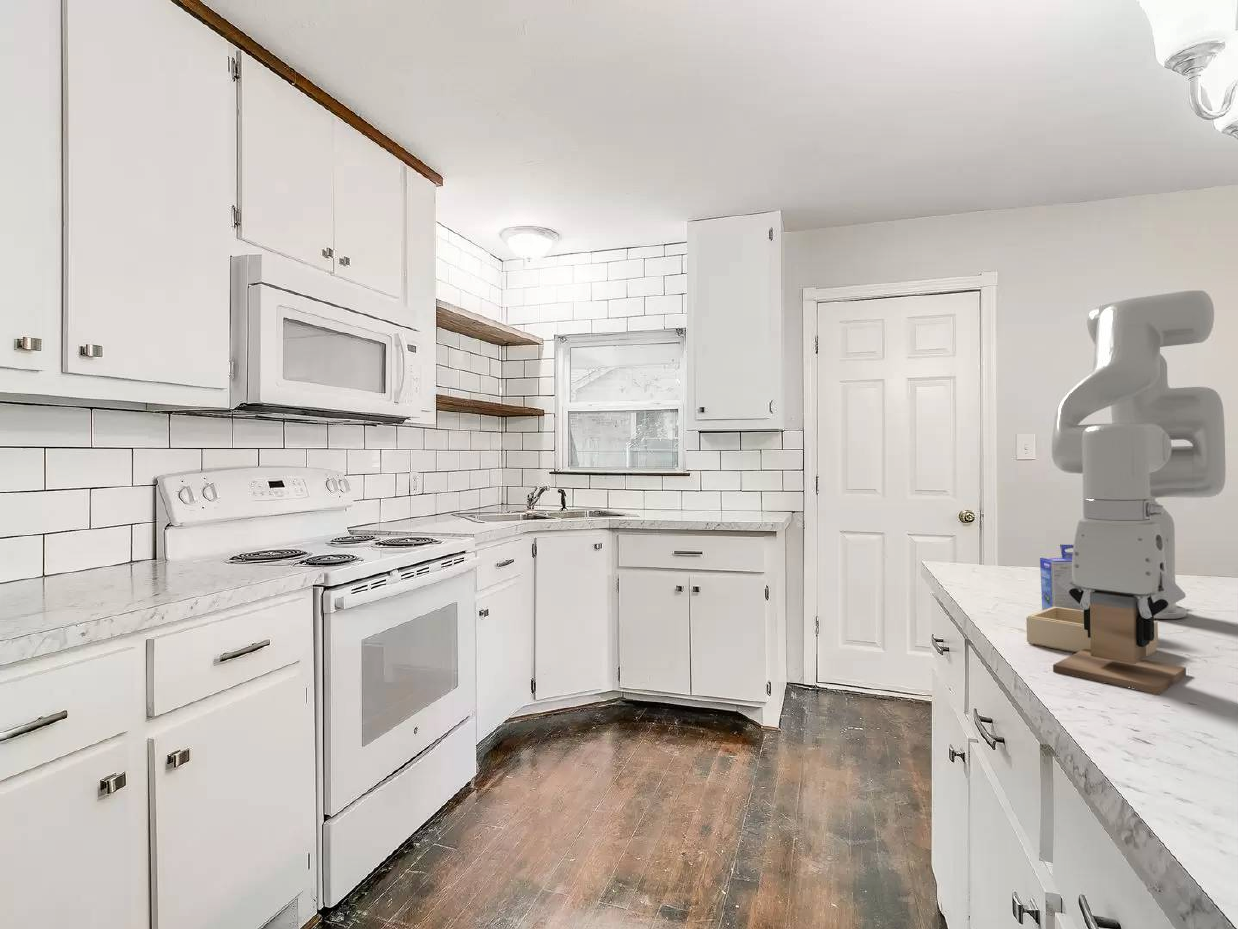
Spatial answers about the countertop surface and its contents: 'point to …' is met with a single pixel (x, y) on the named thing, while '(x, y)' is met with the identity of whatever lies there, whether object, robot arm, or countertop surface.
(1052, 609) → the wooden box
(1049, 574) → the ink cartridge box
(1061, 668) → the board
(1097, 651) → the block
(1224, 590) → the countertop surface
